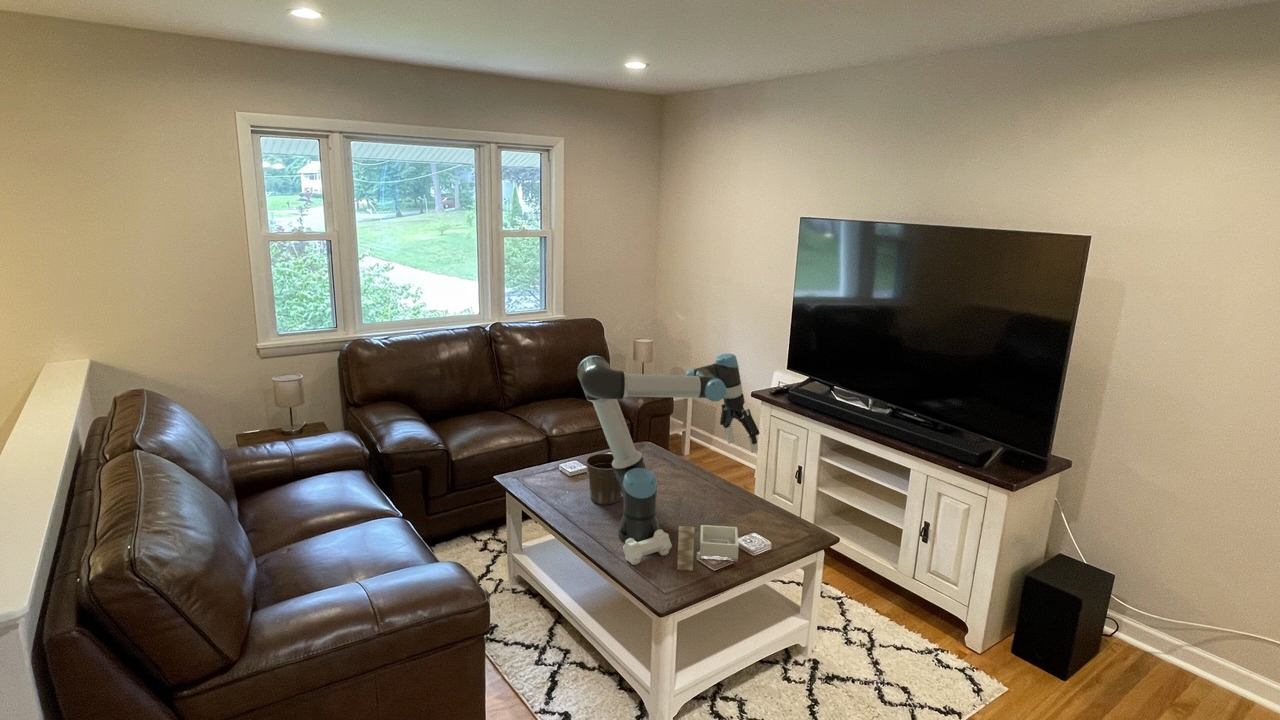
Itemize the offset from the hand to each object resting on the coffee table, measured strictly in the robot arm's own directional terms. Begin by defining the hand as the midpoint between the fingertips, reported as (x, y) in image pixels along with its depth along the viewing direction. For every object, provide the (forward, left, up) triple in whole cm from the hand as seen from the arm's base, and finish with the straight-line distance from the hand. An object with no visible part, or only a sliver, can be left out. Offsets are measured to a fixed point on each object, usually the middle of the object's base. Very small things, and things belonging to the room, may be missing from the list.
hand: (742, 446), depth 253 cm
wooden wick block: (-19, -43, -26) cm, 54 cm away
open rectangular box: (-8, -32, -26) cm, 42 cm away
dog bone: (-32, -39, -26) cm, 57 cm away
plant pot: (-52, +3, -26) cm, 59 cm away
